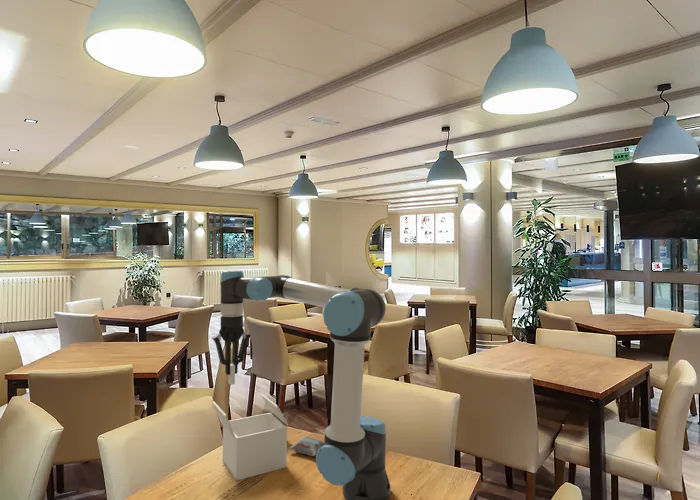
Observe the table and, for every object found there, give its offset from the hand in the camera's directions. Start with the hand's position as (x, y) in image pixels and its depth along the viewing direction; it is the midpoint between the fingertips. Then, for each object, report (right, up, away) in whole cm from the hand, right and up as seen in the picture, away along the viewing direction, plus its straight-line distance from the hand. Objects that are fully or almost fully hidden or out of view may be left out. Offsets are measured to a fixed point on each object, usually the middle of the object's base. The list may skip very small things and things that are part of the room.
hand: (231, 383), depth 151 cm
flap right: (+13, -12, +9) cm, 20 cm away
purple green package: (+10, -30, +24) cm, 40 cm away
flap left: (-2, -12, -1) cm, 12 cm away
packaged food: (+25, -31, +14) cm, 42 cm away
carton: (+7, -30, +5) cm, 31 cm away
